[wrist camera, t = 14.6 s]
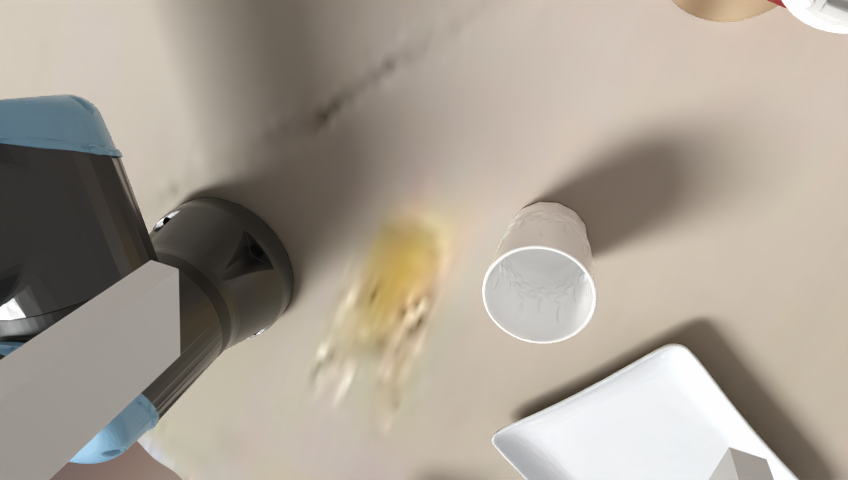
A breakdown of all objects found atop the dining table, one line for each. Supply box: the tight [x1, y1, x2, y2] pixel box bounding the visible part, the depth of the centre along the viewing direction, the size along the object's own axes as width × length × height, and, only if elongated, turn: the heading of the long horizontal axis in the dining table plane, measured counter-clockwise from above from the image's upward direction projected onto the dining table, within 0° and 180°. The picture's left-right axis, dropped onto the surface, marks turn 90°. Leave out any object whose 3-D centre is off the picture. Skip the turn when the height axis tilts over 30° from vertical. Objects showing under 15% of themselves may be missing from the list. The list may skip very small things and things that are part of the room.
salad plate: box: [492, 343, 799, 480], centre depth 54 cm, size 21×21×3 cm
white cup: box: [482, 202, 597, 343], centre depth 44 cm, size 8×8×10 cm
